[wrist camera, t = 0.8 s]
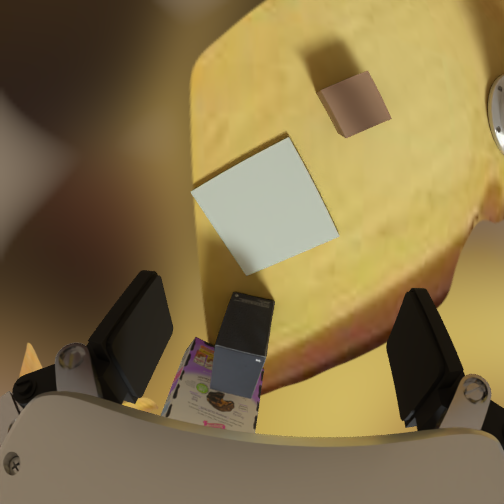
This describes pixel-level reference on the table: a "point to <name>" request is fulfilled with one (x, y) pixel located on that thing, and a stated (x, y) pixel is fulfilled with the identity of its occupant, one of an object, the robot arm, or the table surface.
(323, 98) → the cube
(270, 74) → the table surface
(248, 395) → the small box
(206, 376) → the candy box
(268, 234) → the mat
